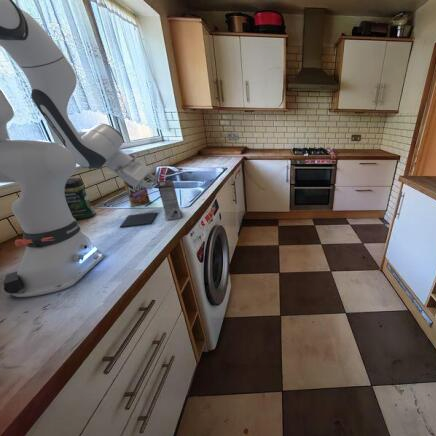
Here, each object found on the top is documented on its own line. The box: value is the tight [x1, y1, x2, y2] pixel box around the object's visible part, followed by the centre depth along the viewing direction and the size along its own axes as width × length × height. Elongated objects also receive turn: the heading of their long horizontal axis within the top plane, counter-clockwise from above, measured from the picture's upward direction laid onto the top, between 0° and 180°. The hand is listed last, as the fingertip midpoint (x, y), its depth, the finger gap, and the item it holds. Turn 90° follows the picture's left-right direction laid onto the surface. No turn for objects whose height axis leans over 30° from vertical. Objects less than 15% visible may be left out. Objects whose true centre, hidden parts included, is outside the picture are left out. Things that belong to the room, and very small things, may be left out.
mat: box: [119, 212, 158, 228], centre depth 105 cm, size 12×12×1 cm
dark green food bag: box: [65, 177, 96, 220], centre depth 104 cm, size 10×8×19 cm
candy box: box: [122, 178, 151, 207], centre depth 119 cm, size 9×4×15 cm, turn 123°
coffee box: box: [156, 179, 182, 221], centre depth 106 cm, size 9×6×16 cm
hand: (154, 184), depth 101 cm, fingers open, 8 cm apart
